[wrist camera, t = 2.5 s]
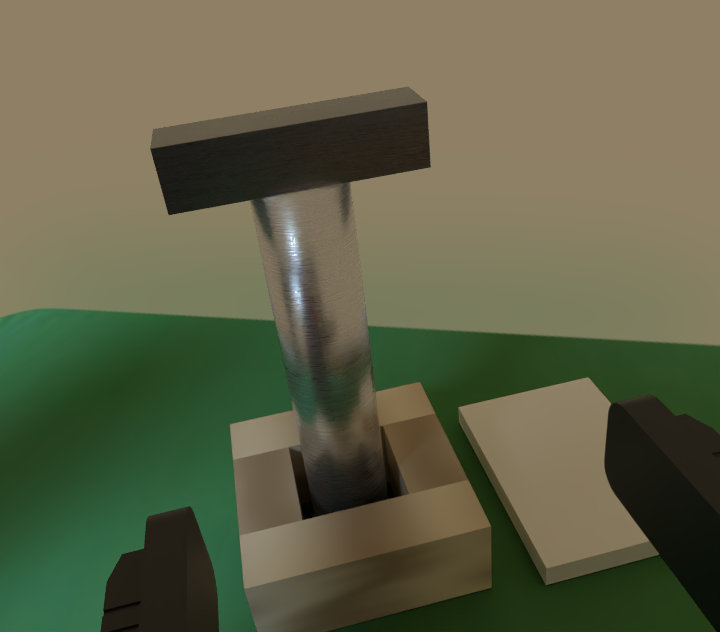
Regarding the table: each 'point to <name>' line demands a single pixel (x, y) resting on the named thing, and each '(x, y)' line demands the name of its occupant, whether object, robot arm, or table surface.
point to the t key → (309, 255)
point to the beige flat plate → (556, 477)
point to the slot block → (357, 525)
